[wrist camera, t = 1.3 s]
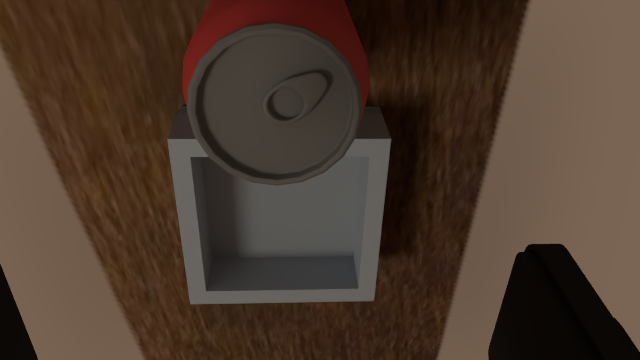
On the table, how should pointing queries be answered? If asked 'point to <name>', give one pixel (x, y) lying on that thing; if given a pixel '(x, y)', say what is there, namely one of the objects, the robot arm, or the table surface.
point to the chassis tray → (281, 224)
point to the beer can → (275, 87)
